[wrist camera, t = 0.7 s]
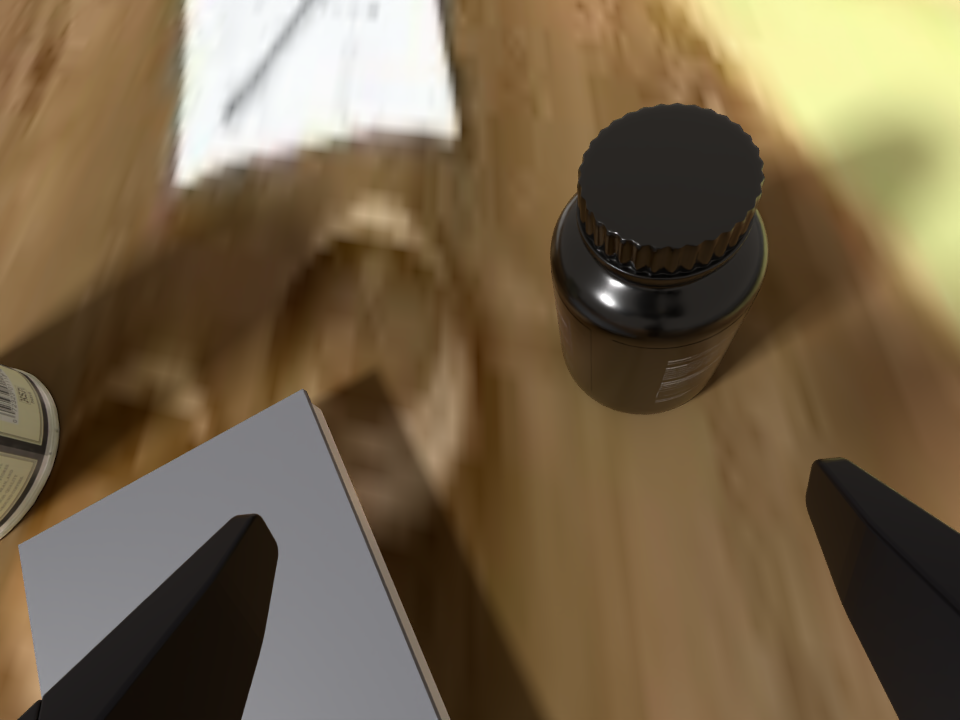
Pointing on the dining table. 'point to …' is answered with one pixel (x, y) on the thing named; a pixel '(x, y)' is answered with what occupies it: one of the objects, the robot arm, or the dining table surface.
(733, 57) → the dining table surface
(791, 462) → the dining table surface
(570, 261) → the supplement bottle
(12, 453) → the coffee can
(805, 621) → the dining table surface
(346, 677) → the book
